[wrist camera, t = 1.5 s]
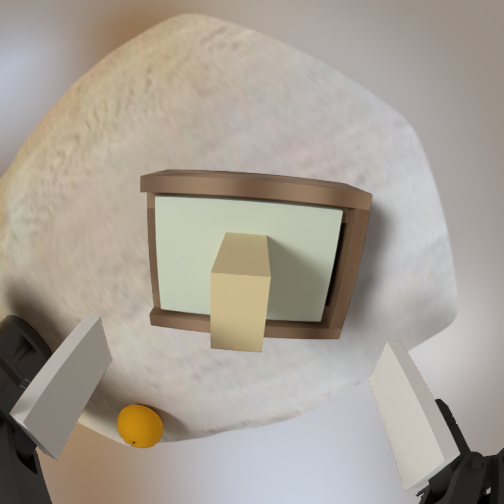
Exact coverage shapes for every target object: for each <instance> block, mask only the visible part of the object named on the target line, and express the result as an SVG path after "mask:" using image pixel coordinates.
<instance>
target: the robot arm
mask: <svg viewBox="0 0 504 504" xmlns="http://www.w3.org/2000/svg"><path fill="white" fill-rule="evenodd" d="M111 361H112V357H111V354H110V351H109V347H108V344H107V341H106V337H105V333H104V330H103V326H102V322H101V318H100V317H99V316H95V315H90V314H87V315H86V316H85V317H84V318H83V319H82V321H81V322H80V323H79V324H78V325H77V326H76V327H75V329H74V330H73V331H72V332H71V333H70V334H69V336H68V337H67V338H66V339H65V340H64V342H63V343H62V344H61V345H60V346H59V348H58V349H57V350H56V351H55V352H54V354H53V355H52V353H51V351H50V350H49V348H48V347H47V345H46V344H45V342H44V341H43V340H42V339H41V337H40V336H39V335H38V334H37V333H36V332H35V331H34V330H33V329H32V328H31V327H30V326H29V325H28V324H27V323H25V322H24V321H23V320H21V319H20V318H18V317H16V316H12V315H9V316H7V317H5V318H4V319H3V320H2V321H1V322H0V504H52V502H51V500H50V496H49V493H48V490H47V487H46V484H45V480H44V477H43V474H42V470H41V467H40V462H39V458H38V454H37V452H36V450H35V449H36V447H37V446H38V447H39V448H40V449H41V450H42V451H43V453H45V454H47V455H49V456H51V457H52V458H54V459H56V460H58V458H59V456H60V454H61V452H62V450H63V448H64V446H65V444H66V442H67V439H68V438H69V436H70V434H71V432H72V430H73V428H74V427H75V425H76V423H77V421H78V419H79V417H80V415H81V413H82V412H83V410H84V408H85V406H86V404H87V403H88V401H89V399H90V397H91V395H92V394H93V392H94V390H95V388H96V387H97V385H98V383H99V381H100V380H101V378H102V376H103V375H104V373H105V371H106V370H107V368H108V366H109V364H110V363H111ZM368 382H369V385H370V387H371V390H372V393H373V396H374V398H375V401H376V404H377V407H378V410H379V412H380V415H381V418H382V420H383V423H384V427H385V430H386V433H387V436H388V439H389V442H390V445H391V447H392V451H393V454H394V457H395V460H396V464H397V467H398V471H399V473H400V477H401V481H402V484H403V488H404V491H408V490H411V489H414V488H417V487H419V486H421V485H422V484H424V483H425V482H427V481H429V485H428V486H426V487H425V488H424V489H422V490H421V491H419V492H418V494H417V495H416V496H419V495H421V494H423V493H424V494H423V495H422V496H421V501H420V503H419V504H504V448H503V449H502V450H501V451H500V452H499V453H498V454H497V455H492V456H485V457H483V456H482V454H480V453H478V452H471V451H470V449H469V447H468V446H467V443H466V441H465V439H464V437H463V435H462V433H461V431H460V429H459V427H458V425H457V424H456V421H455V419H454V417H452V413H451V411H450V409H449V407H448V406H447V405H446V404H445V403H444V402H443V401H442V400H441V399H436V400H434V398H433V396H432V395H431V393H430V391H429V389H428V387H427V385H426V383H425V382H424V380H423V378H422V376H421V375H420V373H419V371H418V369H417V367H416V366H415V364H414V362H413V361H412V359H411V357H410V355H409V354H408V352H407V350H406V349H405V347H404V345H403V344H402V342H401V341H400V340H396V341H387V342H386V344H385V347H384V349H383V351H382V354H381V356H380V358H379V360H378V362H377V365H376V367H375V369H374V371H373V373H372V375H371V377H370V379H369V381H368ZM490 487H491V492H490V493H489V494H487V493H486V490H487V489H489V488H490Z"/></svg>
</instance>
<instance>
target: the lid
mask: <svg viewBox="0 0 504 504" xmlns="http://www.w3.org/2000/svg"><path fill="white" fill-rule="evenodd" d="M342 213H343V211H342V210H341V209H339V208H331V207H322V206H313V205H304V204H294V203H284V202H273V201H261V200H248V199H234V198H219V197H200V196H177V195H157V196H155V227H156V251H157V268H158V281H159V293H160V303H161V309H165V310H173V311H181V312H190V313H199V314H208V315H210V331H211V348H214V349H224V350H235V351H248V352H262V344H263V337H264V329H265V321H266V319H271V320H290V321H317V322H321V318H322V314H323V310H324V305H325V301H326V297H327V292H328V288H329V283H330V278H331V274H332V269H333V264H334V259H335V253H336V248H337V243H338V237H339V231H340V225H341V219H342Z"/></svg>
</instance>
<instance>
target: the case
mask: <svg viewBox="0 0 504 504" xmlns="http://www.w3.org/2000/svg"><path fill="white" fill-rule="evenodd" d="M140 192H147V220H148V243H149V259H150V272H151V283H152V293H153V302H154V308H153V309H152V311H151V313H150V314H149V315H150V322H151V325H153V326H160V327H167V328H174V329H182V330H190V331H198V332H207V333H211V331H210V315H208V314H199V313H190V312H181V311H173V310H165V309H161V303H160V293H159V281H158V268H157V251H156V227H155V196H157V195H177V196H200V197H219V198H234V199H248V200H261V201H273V202H284V203H294V204H304V205H313V206H322V207H331V208H339V209H341V210H342V211H343V213H342V219H341V225H340V231H339V237H338V243H337V248H336V253H335V259H334V264H333V269H332V274H331V278H330V283H329V288H328V292H327V297H326V301H325V305H324V310H323V314H322V318H321V322H317V321H290V320H271V319H266V321H265V329H264V337H269V338H291V339H339V337H340V334H341V330H342V327H343V324H344V320H345V317H346V313H347V310H348V306H349V303H350V299H351V295H352V291H353V288H354V284H355V280H356V276H357V271H358V267H359V263H360V258H361V254H362V249H363V244H364V240H365V235H366V229H367V224H368V219H369V213H370V207H371V201H372V194H370V193H368V192H365V191H363V190H360V189H358V188H355V187H353V186H350V185H348V184H345V183H338V182H331V181H324V180H316V179H308V178H299V177H290V176H280V175H269V174H257V173H244V172H228V171H207V170H164V171H160V172H155V173H151V174H147V175H143V176H141V178H140Z"/></svg>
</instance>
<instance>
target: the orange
mask: <svg viewBox="0 0 504 504" xmlns="http://www.w3.org/2000/svg"><path fill="white" fill-rule="evenodd" d="M117 428H118V432H119V434H120V436H121V437H122V438H123V440H124V441H126V442H127V443H128V444H130V445H132V446H134V447H138V448H148V447H152V446H154V445H155V444H156V443H157V442H158V441H159V440H160V439H161V437H162V435H163V423H162V420H161V419H160V417H159V415H158V414H157V413H156V412H154V411H153V410H151V409H150V408H148V407H146V406H143V405H137V404H135V405H129V406H127V407H125V408H123V409H122V410H121V411H120V413H119V415H118V417H117Z"/></svg>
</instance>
